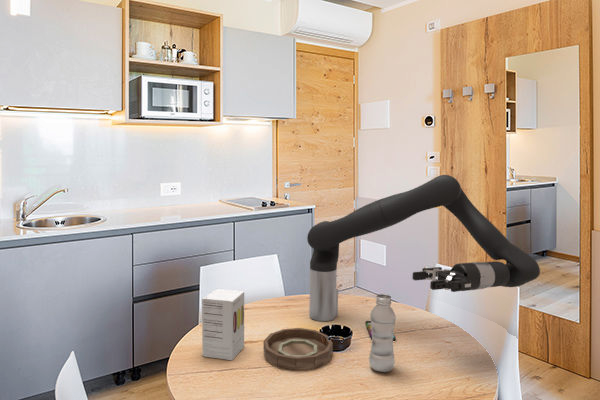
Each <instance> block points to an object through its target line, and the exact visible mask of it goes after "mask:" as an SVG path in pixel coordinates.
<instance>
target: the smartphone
mask: <svg viewBox="0 0 600 400" xmlns="http://www.w3.org/2000/svg"><path fill="white" fill-rule="evenodd" d="M365 326H366V331H367V332H368V335H369V338H371V339H370V340H372V327H371V320H365ZM395 340H396V341H397V338H396V336H395V333H393V341H395Z"/></svg>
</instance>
